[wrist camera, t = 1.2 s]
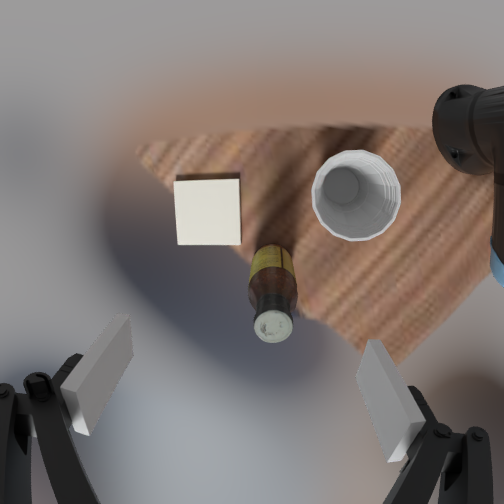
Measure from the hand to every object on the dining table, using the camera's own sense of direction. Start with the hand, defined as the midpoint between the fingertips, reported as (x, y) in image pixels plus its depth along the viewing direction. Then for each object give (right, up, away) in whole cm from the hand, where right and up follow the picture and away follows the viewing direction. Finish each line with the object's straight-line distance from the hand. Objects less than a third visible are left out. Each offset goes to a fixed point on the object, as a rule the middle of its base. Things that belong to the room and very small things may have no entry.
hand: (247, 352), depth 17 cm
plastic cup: (+13, +15, +30) cm, 36 cm away
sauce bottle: (+4, +4, +34) cm, 35 cm away
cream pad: (-6, +12, +33) cm, 35 cm away
